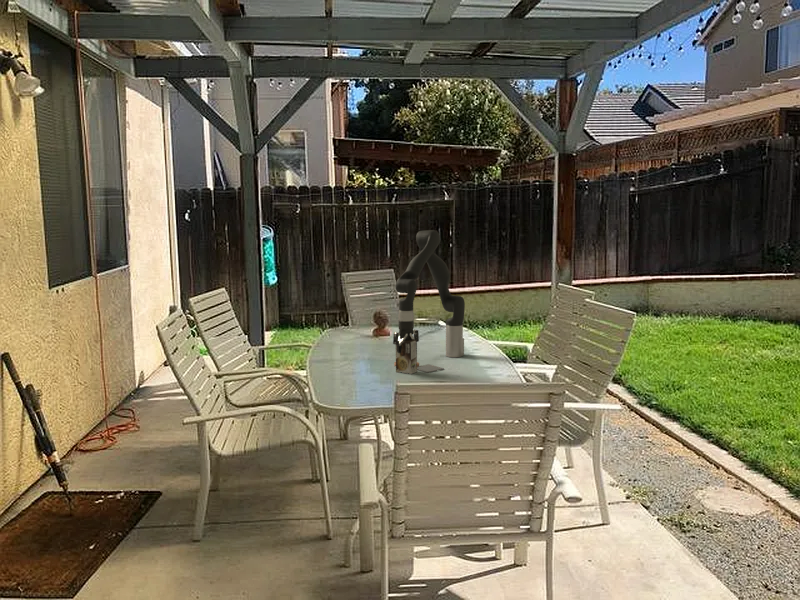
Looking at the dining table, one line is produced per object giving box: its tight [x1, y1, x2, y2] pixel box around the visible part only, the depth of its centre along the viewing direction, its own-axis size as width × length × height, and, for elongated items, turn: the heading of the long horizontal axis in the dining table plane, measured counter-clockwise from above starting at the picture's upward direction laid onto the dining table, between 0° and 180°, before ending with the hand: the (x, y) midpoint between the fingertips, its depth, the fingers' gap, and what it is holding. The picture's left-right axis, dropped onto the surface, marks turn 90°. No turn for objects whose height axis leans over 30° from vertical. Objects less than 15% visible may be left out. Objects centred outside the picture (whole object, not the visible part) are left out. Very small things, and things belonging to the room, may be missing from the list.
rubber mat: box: [417, 363, 445, 374], centre depth 346 cm, size 11×12×1 cm
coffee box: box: [394, 339, 418, 375], centre depth 340 cm, size 9×6×16 cm
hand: (406, 351), depth 339 cm, fingers open, 8 cm apart
